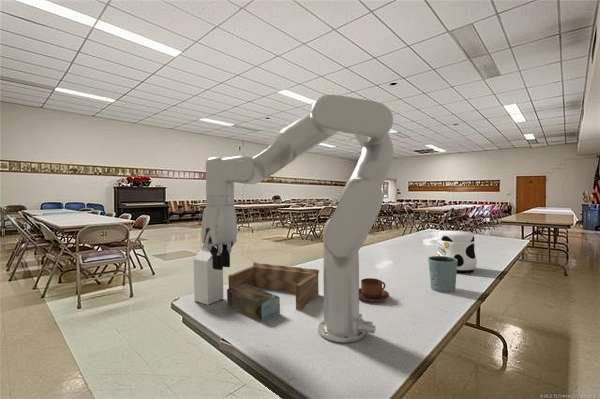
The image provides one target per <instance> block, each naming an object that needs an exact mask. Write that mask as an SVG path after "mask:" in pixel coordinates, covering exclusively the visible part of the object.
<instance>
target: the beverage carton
mask: <svg viewBox="0 0 600 399" xmlns="http://www.w3.org/2000/svg"><path fill="white" fill-rule="evenodd" d="M226 296H227V297H226V298H227V300H226V301H227V306H228V307H230V308H232V309H234V310H237V311H239V312H241V313H243V314H245V315H247V316H248V317H249V316H250V317H252V318H254V319H255V320H258V321H261V322H265V321H266V320H269V319H272V318H273V317H274V318H275V317H276V316H278V315H279V316H280V314H281V305H280V301H281V300H280V299H281V298H280V296H278V295H276V294H273V293H270V292H268V291H266V290H263V289H260V288H259V287H256V286H254V287H252V286H250V285H247V284H242V285H240V286H235V287H233V288H229V287H228V289H227V290H226Z"/></svg>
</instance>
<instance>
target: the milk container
mask: <svg viewBox="0 0 600 399" xmlns="http://www.w3.org/2000/svg"><path fill="white" fill-rule="evenodd" d="M437 239H438V240H437V251H436V255H435V256H446V257H452V258H455V259H457V260H458V261H457V272H459V273H464V272H465V273H466V272H472V271H474V270H475V269H476V267H477V262H478V261H477V256H476V252H475V233H474V232H471V231H466V230H465V231H464V230H439V231H438V234H437Z"/></svg>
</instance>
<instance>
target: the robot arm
mask: <svg viewBox="0 0 600 399" xmlns="http://www.w3.org/2000/svg"><path fill="white" fill-rule="evenodd" d="M393 124H394V116H393V113H392V111H391V109H390V108H389V107H388V106H387V105H386V104H383V103H381V102H378V101H375V100H374V101H373V100H368V99H365V98H364V99H363V98H358V97H357V98H356V97H352V96H351V97H350V96H346V95H338V94H325V95H321V96H319V97H318V98H316V100H315V101H314V102H313V104H312V106H311V109H310V111H309V112H308V113H306V114H305V115H303V116H302V117H299V119H296V120H295V121H293V122H292V123H290V124H289V125H287V126H285V127H284V128H282V129H281V130H280V131H279V132H278V135H277V137H276V138H275V140H274V141H273V143H271V145H269V146H268V147H267V148H266V149H264V150H263V151H262V152H260V153H259V154H257V155H255V156H253V157H252V156H249V155H242V154H241V155H236V156H231V157H221V156H219V157H218V156H216V157H215V156H214V157H209V158H207V159H206V161H205V196H206V197H205V198H206V200H205V203H206V205H205V207H204V209H203V212H202V217H201V218H202V220H201V233H200V235H201V236H200V237H201V243H203V245H202V246H203V248H204V249H206V250H209V251H210V254H211V255H212V263H213V269H217V270H222V269H223V270H224V268H230V267H231V252H232V248H233V246H234V245H235V244H236V243H237V242H238V238H237V236H238V222H237V221H238V220H237V214H236V207H235V183H237V184H242V185H243V184H244V185H256V184H260V183H261V182H263V181H264V180H266V179H268V178H269V177H271V176H272V175H275V174H276V173H277V172H279V171H281V170H282V169H283V168H285V167H286V166H288V165H289V164H291V163H293V161H295V160H297V158H299V157H301V156H302V155H304V154H305V153H307V152H308V151H309V150H312V149H313V148H314V147H316V146H318V145H320V144H322V143H323V142H325V141H326V140H329V139H330V138H332V137H333V136H335V135H336V134H338V132H340V133H344V134H345V133H346V134H352V135H354V137H355V138H356V140H357V142H358V143H359V145H360V147H361V152H360V156H359V158H358V161H357V162H356V165H355V168H354V169H353V172H352V173H351V176H350V177H349V180H348V181H347V183H346V184H345V186H344V188H343V189H342V192H341V197H340V198H339V201H338V203H337V206H336V208H335V209H334V211H333V213H332V214H331V217H330V218H328V220H326V222H325V223H324V226H323V229H322V243H323V244H322V245H323V247H322V248H323V252H322V253H323V320H322V321H321V322H320V323H319V324H318V327H317V330H318V333H319V335H321V337H322V338H324V339H326V340H328V341H331V342H336V343H353V342H357V341H360V340H361V339H363V338H364V337H365V335H366V332H367V333H370V334H376V329H377V328H376V325H374V322H373V321H369V320H364V319H363V313H360V298H359V289H360V255H359V251H360V250H361V248H362V246H363V244H364V243H365V242H366V239H367V237H368V235H369V233H370V231H371V229H372V227H373V226H374V224H375V222H376V220H377V217H378V215H379V214H380V212H381V208H382V205H383V202H384V192H383V190H382V188H383V185H384V184H385V181H386V178H387V176H388V173H389V172H390V170H391V167H392V164H393V161H394V153H395V152H394V145H393V142H392V139H391V137H390V135H389V132H390V131H391V129H392V127H393Z"/></svg>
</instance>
